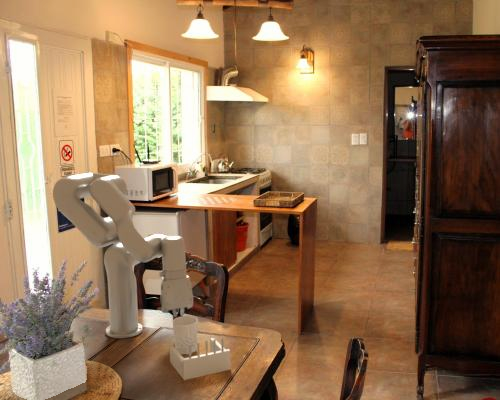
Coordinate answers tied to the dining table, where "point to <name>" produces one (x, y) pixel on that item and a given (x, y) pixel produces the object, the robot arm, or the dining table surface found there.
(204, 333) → the dining table surface
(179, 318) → the white cup
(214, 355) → the drying rack
